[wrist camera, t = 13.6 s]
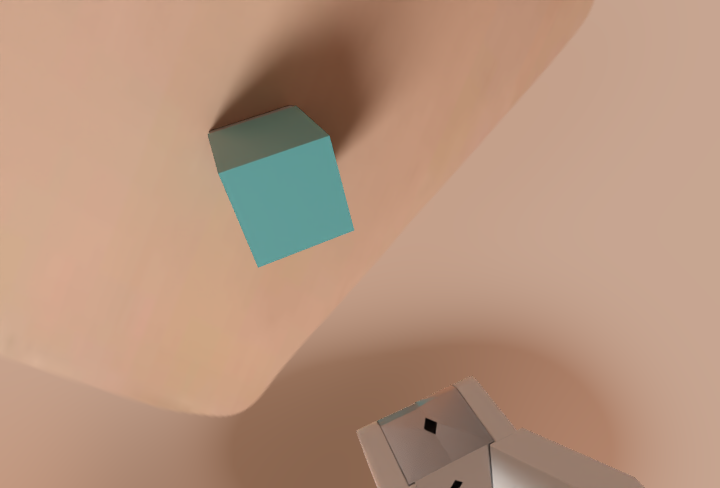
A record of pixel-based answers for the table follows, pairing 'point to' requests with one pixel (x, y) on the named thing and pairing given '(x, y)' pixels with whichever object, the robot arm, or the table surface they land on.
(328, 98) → the table surface
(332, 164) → the teal rectangular block
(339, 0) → the table surface
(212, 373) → the table surface
